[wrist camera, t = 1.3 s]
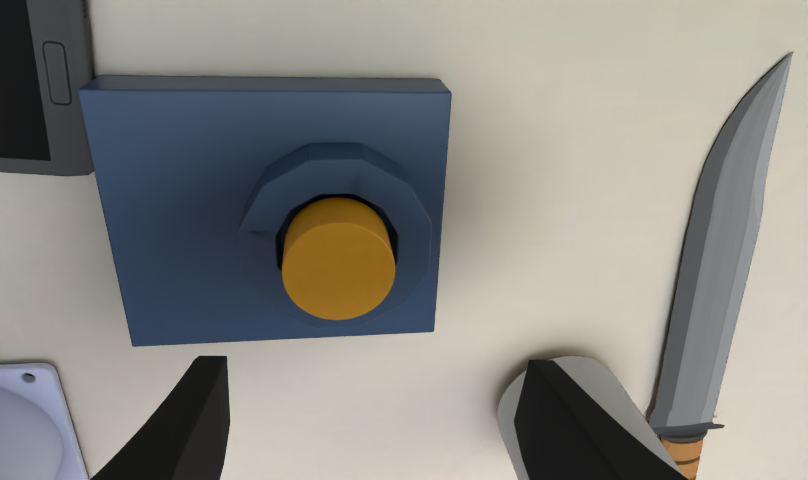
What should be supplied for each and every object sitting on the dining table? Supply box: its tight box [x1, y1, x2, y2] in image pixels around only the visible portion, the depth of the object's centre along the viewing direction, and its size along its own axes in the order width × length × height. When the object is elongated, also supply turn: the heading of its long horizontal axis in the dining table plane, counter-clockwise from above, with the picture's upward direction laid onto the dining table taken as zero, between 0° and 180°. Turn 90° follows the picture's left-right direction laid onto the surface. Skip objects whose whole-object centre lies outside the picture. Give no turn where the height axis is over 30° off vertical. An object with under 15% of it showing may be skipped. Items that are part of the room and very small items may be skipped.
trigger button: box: [282, 197, 395, 320], centre depth 19 cm, size 4×4×2 cm
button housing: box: [77, 75, 452, 347], centre depth 21 cm, size 12×10×4 cm
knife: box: [649, 52, 793, 480], centre depth 30 cm, size 30×1×5 cm
